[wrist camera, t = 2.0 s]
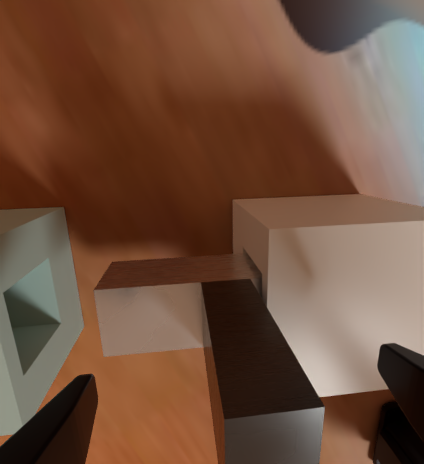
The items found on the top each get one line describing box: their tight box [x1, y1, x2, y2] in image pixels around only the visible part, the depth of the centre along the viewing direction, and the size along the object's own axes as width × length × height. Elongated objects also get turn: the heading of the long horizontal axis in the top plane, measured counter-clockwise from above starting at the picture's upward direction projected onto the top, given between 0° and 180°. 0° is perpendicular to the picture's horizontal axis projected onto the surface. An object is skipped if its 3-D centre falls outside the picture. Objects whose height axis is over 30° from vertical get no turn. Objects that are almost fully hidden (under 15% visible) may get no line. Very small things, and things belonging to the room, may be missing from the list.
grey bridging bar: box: [94, 253, 325, 464], centre depth 10 cm, size 15×3×9 cm, turn 91°
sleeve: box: [233, 194, 424, 397], centre depth 14 cm, size 8×8×7 cm
